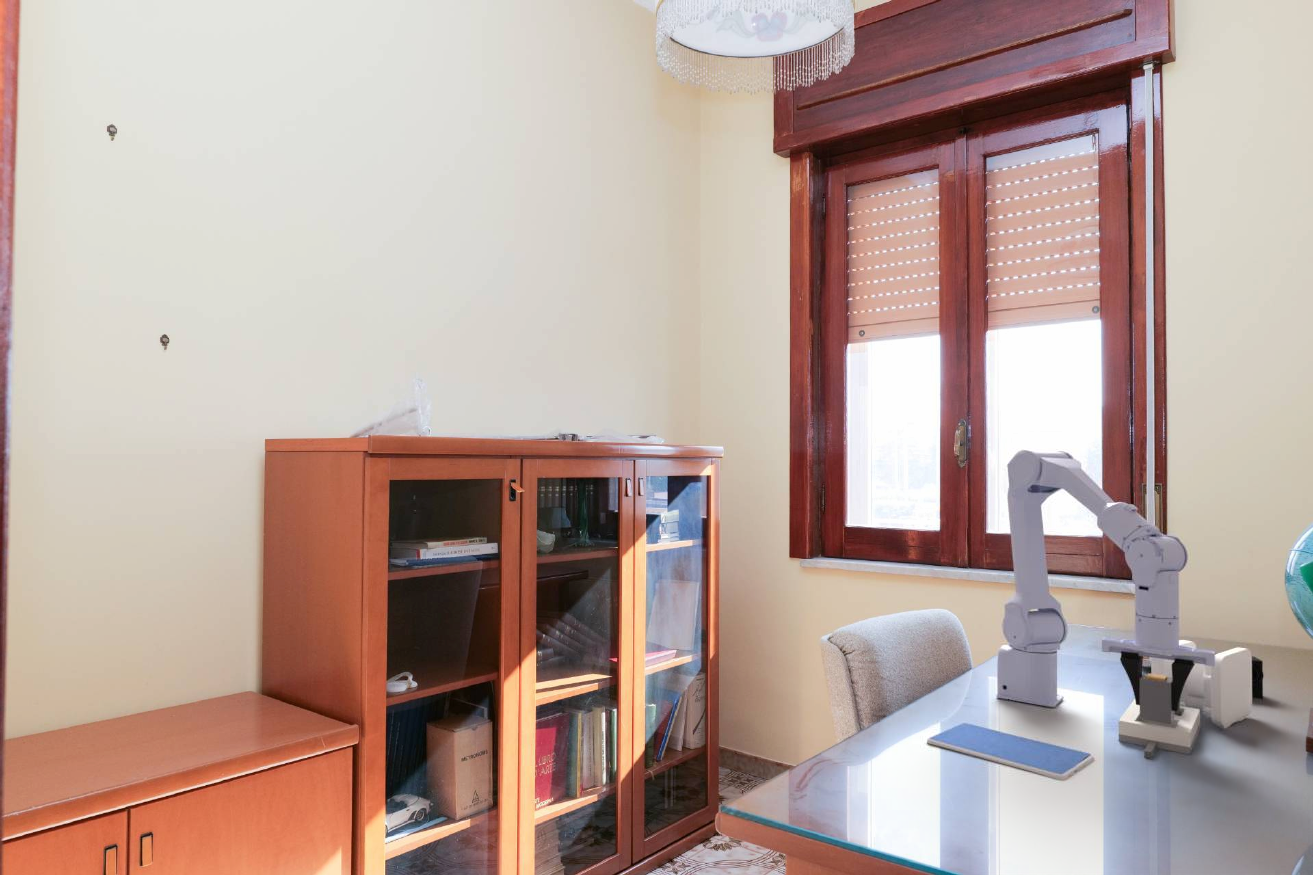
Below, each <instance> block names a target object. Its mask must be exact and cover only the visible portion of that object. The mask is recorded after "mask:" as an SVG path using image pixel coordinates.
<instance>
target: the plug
mask: <svg viewBox="0 0 1313 875" xmlns="http://www.w3.org/2000/svg"><path fill="white" fill-rule="evenodd" d="M1172 693H1173V681H1172V678H1171V677H1167V676H1164V675H1157V674H1151V673H1150V672H1149V673H1142V676H1141V677H1140V719H1144V720H1149V721H1155V722H1161V723H1166V724H1171V723H1172V722H1173V720H1174V711H1172Z"/></svg>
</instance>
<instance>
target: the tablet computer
mask: <svg viewBox="0 0 1313 875" xmlns="http://www.w3.org/2000/svg"><path fill="white" fill-rule="evenodd" d="M926 743H927V744H930V745H933V746H936V747H939V748H944V749H948V750H951V751H954V752H957V753H962V754H965V755H969V756H972V757H976V758H980V759H982V760H988V761H991V762H994V763H998V764H1002V765H1006V766H1009V767H1013V768H1016V769H1020V770H1024V771H1027V772H1030V773H1034V774H1038V775H1040V776H1044V777H1048V778H1052V779H1056V780H1058V781H1059V780H1061V781H1065V780H1067V779H1069V778H1070V777H1071V776H1073V775H1074V774H1076V773H1077V772H1079V771H1080V770H1083V769H1084V768H1085V767H1086V766H1088V765H1090V764H1091V763H1093V762H1094V761H1095V756H1094V755H1093V754H1091V753H1089V752H1086V751H1081V750H1076V749H1073V748H1068V747H1064V746H1060V745H1056V744H1052V743H1049V742H1048V743H1047V742H1043V741H1040V740H1036V739H1032V738H1028V737H1023V736H1018V735H1015V734H1011V733H1006V732H1003V731H999V730H995V729H992V728H987V727H984V726H981V725H980V726H979V725H975V724H972V723H967V722H962V723H959V724H957V725H955V726H953V727H950V728H949V729H946V730H944V731H942V732H939V733H937V734H935V735H933V736H930V737H928V738H927V739H926Z"/></svg>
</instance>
